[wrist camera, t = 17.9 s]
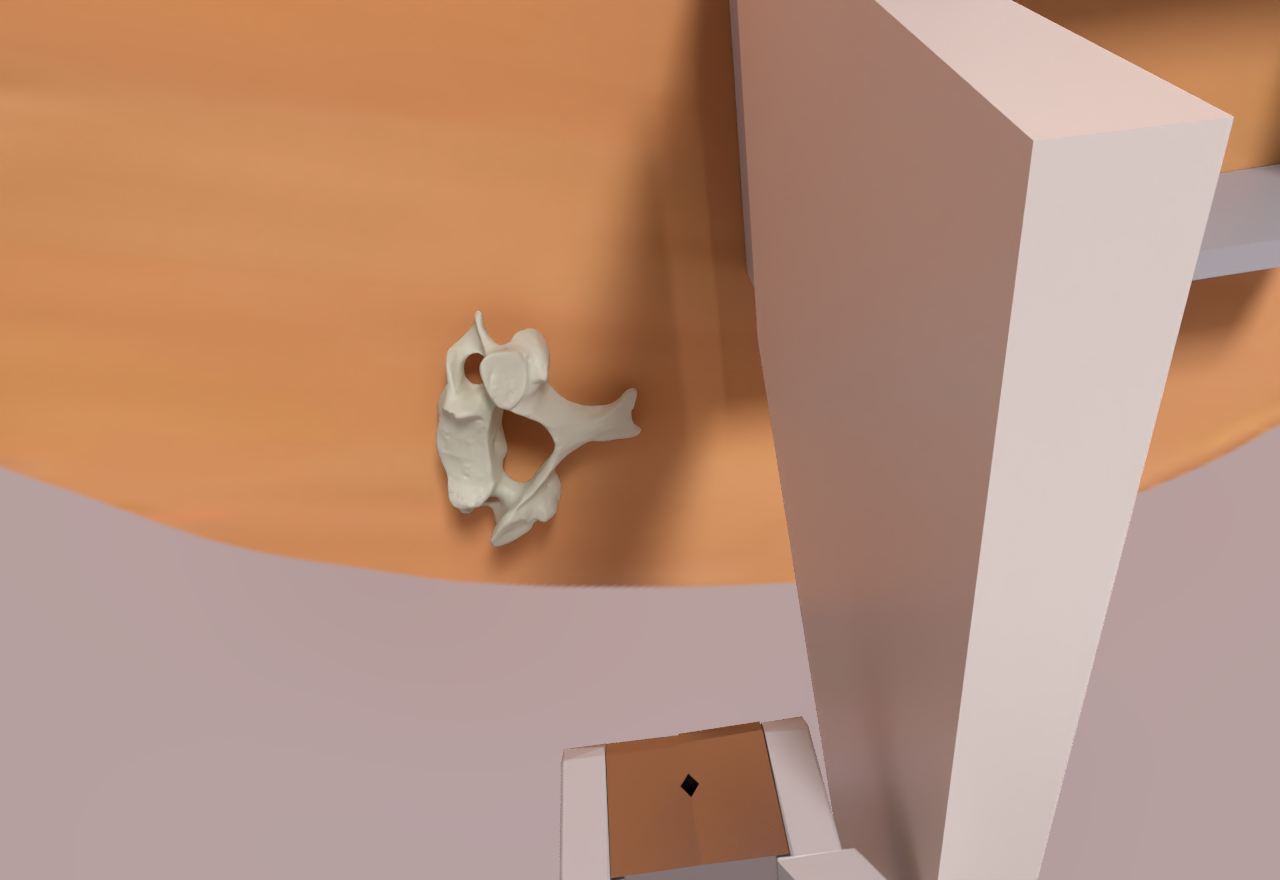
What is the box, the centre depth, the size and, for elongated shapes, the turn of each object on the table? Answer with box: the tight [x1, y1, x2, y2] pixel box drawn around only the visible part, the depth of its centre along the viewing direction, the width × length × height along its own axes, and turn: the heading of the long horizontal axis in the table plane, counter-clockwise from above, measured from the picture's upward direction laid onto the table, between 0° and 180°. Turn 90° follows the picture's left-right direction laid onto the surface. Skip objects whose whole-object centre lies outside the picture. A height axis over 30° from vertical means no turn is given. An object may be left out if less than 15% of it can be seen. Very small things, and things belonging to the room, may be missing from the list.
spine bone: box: [436, 311, 641, 546], centre depth 41 cm, size 12×10×5 cm
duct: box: [729, 0, 1280, 289], centre depth 32 cm, size 26×16×7 cm, turn 98°
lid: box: [737, 0, 1234, 880], centre depth 18 cm, size 26×15×1 cm
